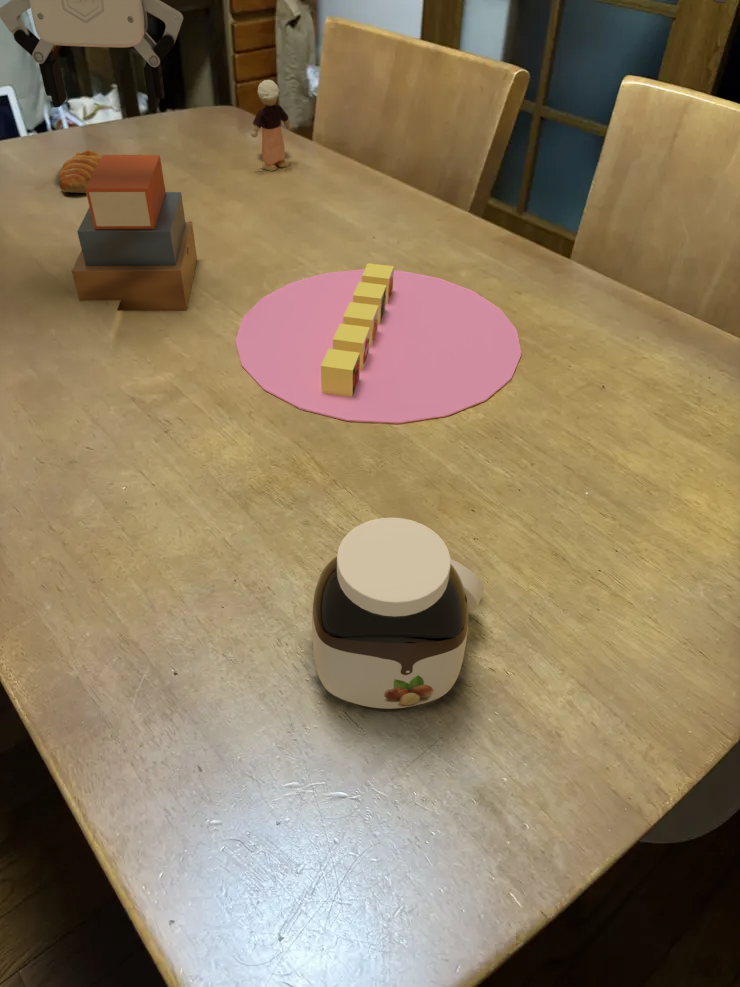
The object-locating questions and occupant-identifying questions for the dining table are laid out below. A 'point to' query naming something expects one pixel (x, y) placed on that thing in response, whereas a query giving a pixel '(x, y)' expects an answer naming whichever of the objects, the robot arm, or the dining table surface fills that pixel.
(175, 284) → the box stack
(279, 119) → the grandmother figurine
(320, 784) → the dining table surface
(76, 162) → the pastry
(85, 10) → the robot arm
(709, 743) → the dining table surface
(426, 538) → the spread jar
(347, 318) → the platter
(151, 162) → the orange box
